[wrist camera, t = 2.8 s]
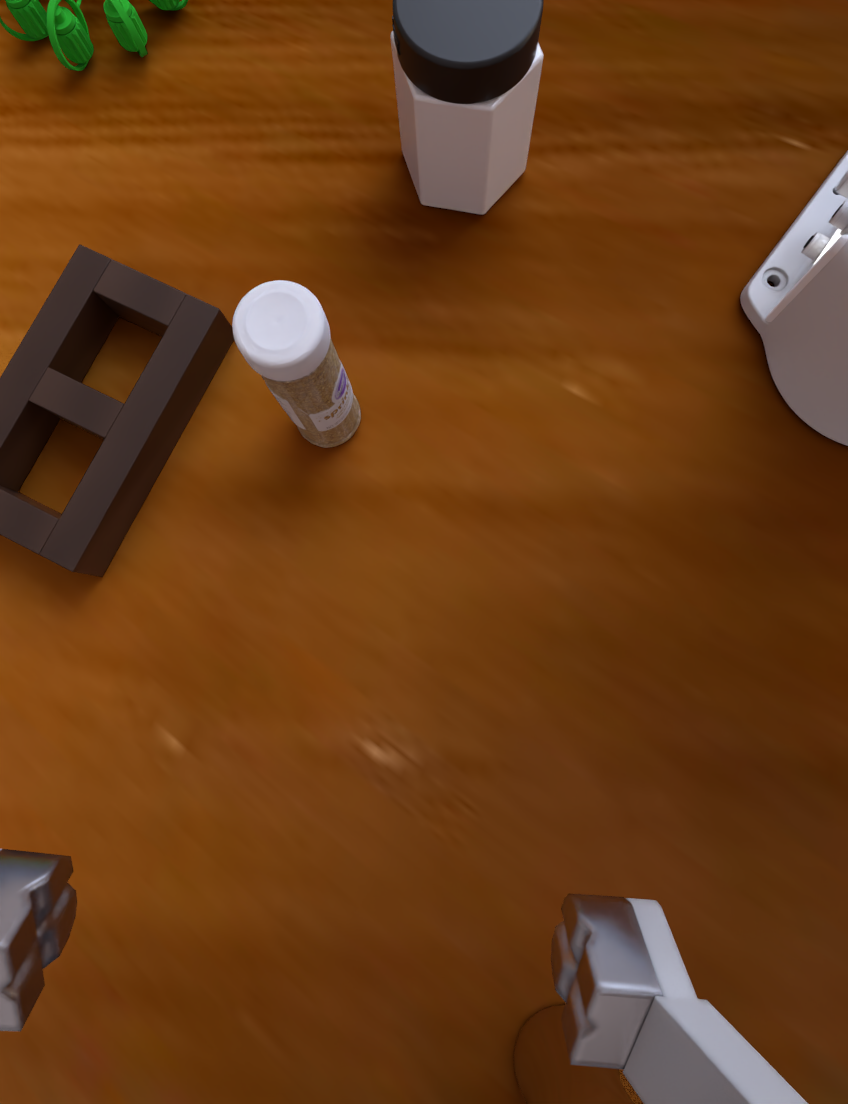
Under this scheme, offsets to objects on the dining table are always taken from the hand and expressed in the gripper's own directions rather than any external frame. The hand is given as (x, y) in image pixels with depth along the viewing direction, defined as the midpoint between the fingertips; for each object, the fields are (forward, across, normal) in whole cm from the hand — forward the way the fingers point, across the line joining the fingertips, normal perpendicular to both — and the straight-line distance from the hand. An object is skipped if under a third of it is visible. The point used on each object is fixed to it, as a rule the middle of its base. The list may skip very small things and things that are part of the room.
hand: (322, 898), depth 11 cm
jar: (+46, -3, -17) cm, 49 cm away
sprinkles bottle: (+37, +4, 0) cm, 37 cm away
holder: (+38, +20, +3) cm, 42 cm away
